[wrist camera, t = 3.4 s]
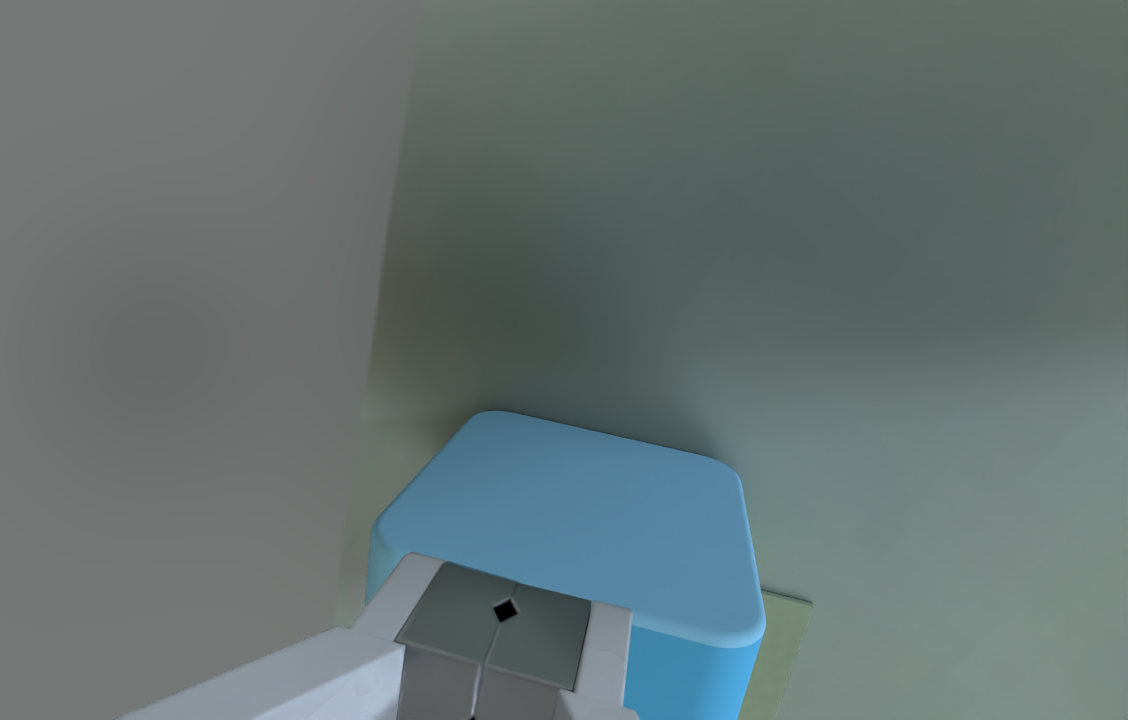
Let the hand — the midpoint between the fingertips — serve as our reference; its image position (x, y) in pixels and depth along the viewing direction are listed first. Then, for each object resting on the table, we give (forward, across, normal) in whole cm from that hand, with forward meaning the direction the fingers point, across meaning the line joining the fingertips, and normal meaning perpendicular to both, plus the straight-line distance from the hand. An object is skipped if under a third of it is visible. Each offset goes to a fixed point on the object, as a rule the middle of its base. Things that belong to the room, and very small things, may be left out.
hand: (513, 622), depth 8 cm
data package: (+20, 0, +8) cm, 21 cm away
